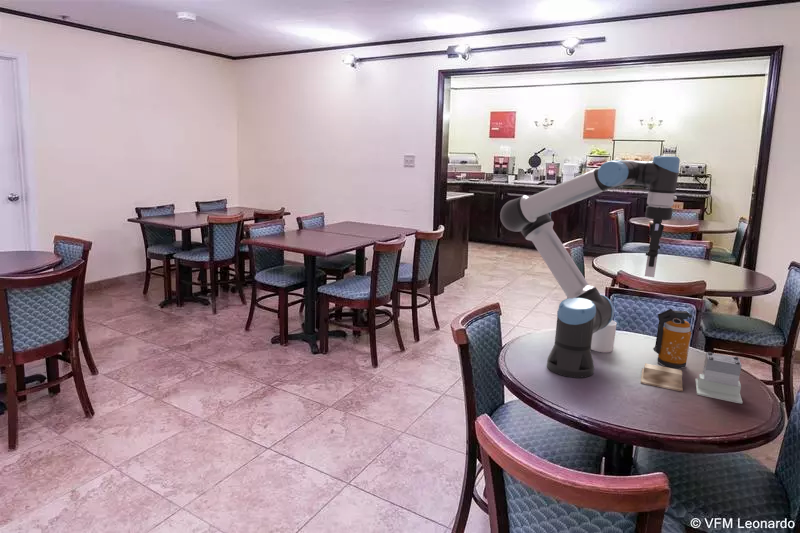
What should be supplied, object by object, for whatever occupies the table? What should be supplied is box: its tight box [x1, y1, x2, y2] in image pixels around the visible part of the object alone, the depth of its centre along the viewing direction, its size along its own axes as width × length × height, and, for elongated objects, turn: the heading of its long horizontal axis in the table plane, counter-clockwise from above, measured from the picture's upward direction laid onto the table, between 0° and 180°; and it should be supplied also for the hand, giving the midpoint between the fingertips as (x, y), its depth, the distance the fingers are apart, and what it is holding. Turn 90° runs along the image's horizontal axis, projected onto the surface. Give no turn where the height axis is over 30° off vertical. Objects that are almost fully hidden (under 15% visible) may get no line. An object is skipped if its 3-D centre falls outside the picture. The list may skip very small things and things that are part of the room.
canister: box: [652, 308, 693, 370], centre depth 186 cm, size 9×11×20 cm
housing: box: [702, 351, 742, 387], centre depth 167 cm, size 9×6×7 cm
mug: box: [591, 319, 618, 354], centre depth 201 cm, size 9×12×11 cm
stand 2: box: [694, 373, 743, 405], centre depth 168 cm, size 12×12×4 cm
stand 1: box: [640, 362, 684, 392], centre depth 175 cm, size 12×12×4 cm
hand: (649, 272), depth 173 cm, fingers open, 13 cm apart
